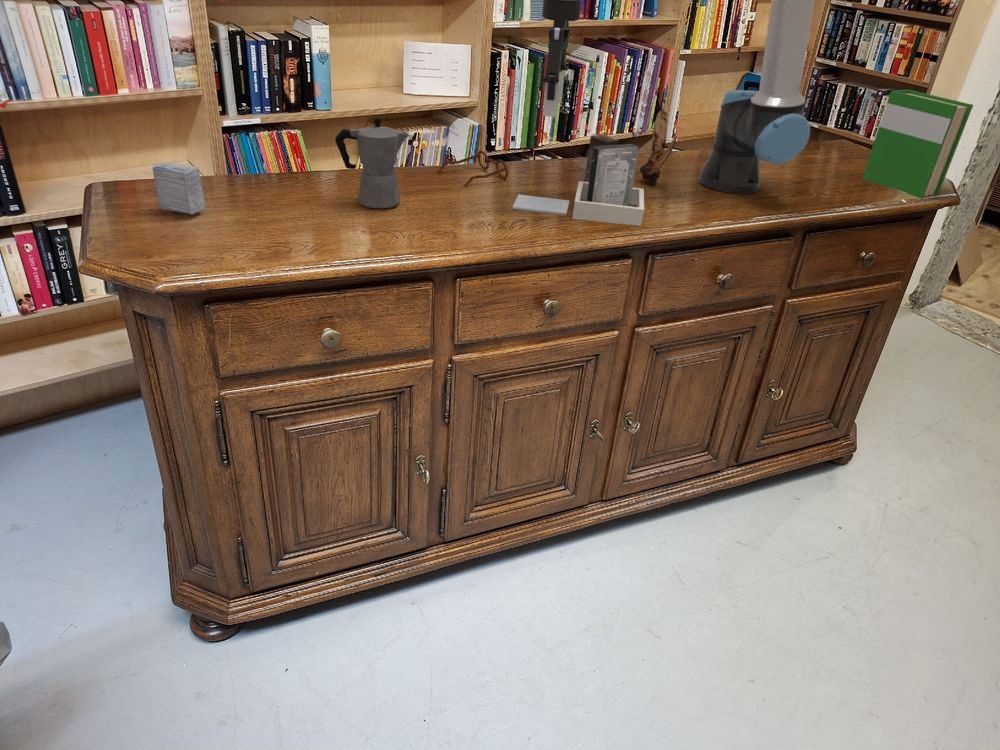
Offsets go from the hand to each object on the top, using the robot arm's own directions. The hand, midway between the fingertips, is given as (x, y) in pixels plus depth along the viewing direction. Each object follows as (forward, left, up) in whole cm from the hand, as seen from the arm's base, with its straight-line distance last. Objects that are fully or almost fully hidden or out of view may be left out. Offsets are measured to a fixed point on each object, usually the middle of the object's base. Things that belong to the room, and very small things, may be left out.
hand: (552, 109), depth 157 cm
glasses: (+19, -16, -22) cm, 33 cm away
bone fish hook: (-25, -24, -21) cm, 41 cm away
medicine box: (+71, +28, -21) cm, 79 cm away
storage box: (-15, -1, -21) cm, 26 cm away
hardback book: (-91, -46, -21) cm, 104 cm away
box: (-12, -19, -21) cm, 31 cm away
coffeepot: (+36, +11, -21) cm, 43 cm away
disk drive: (-15, -1, -21) cm, 26 cm away
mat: (0, 0, -21) cm, 21 cm away
